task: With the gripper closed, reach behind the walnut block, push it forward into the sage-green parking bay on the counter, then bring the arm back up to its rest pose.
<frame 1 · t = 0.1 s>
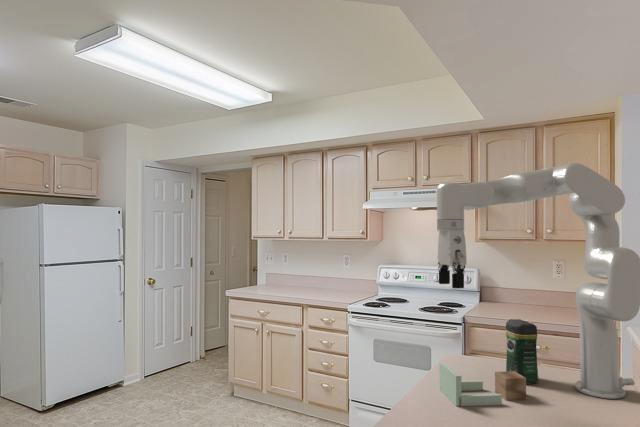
hand: (450, 285, 127), 31 cm above the countertop, fingers open, 9 cm apart
coffee jar: (521, 380, 140), on the countertop
walnut block: (510, 396, 126), on the countertop
parking bay: (469, 397, 125), on the countertop
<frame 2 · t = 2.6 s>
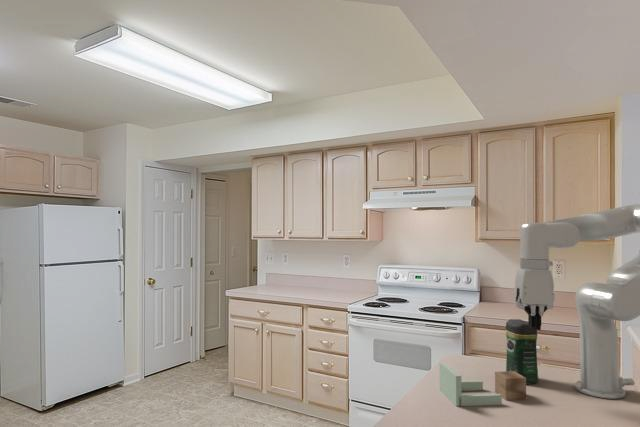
hand: (534, 329, 128), 19 cm above the countertop, fingers closed
nothing on the countertop moved.
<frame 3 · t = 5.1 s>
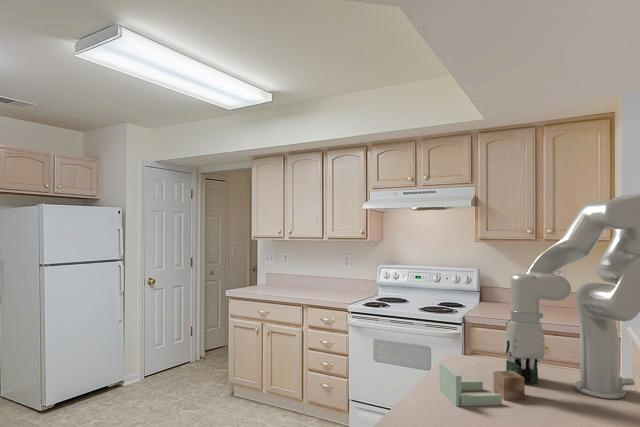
hand: (525, 381, 127), 4 cm above the countertop, fingers closed
walnut block: (508, 395, 126), on the countertop, touching gripper
everything else where it was.
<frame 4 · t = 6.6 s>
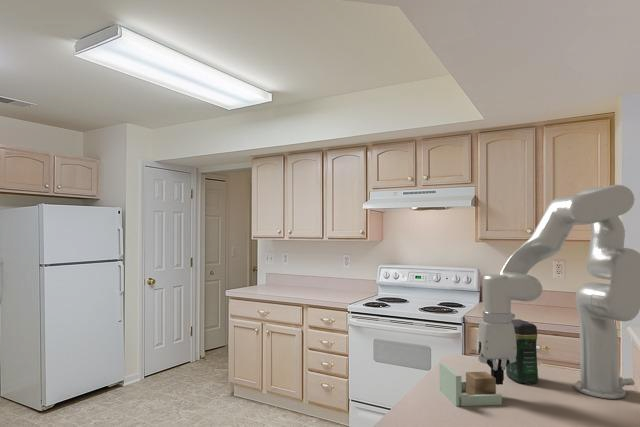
hand: (497, 382, 126), 4 cm above the countertop, fingers closed
walnut block: (480, 396, 126), on the countertop, touching gripper
everything else where it was.
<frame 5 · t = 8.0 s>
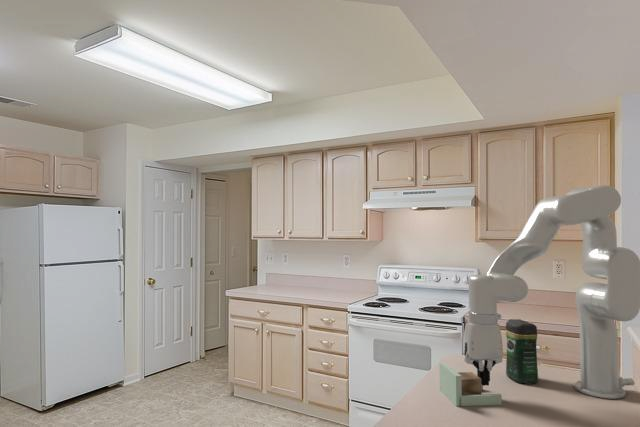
hand: (483, 383, 126), 4 cm above the countertop, fingers closed
walnut block: (466, 397, 125), on the countertop, touching gripper
everything else where it was.
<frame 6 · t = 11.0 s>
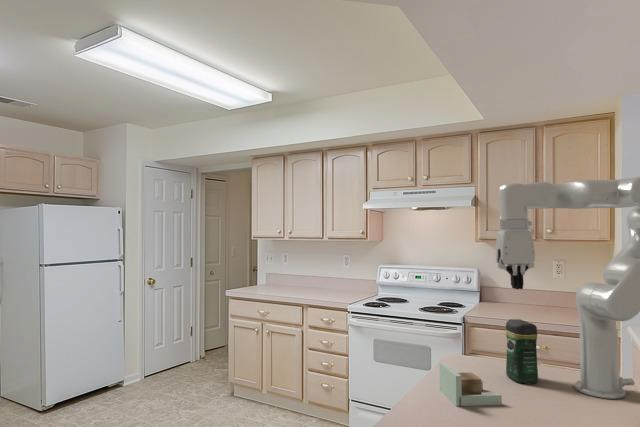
hand: (517, 288, 130), 30 cm above the countertop, fingers closed
walnut block: (466, 397, 125), on the countertop
everything else where it was.
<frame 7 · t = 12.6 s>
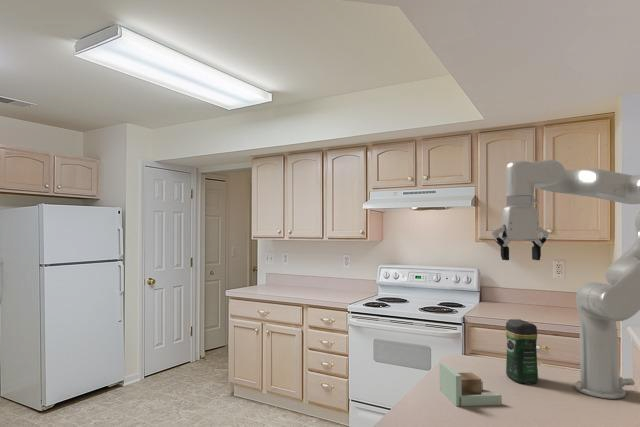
hand: (520, 260, 133), 38 cm above the countertop, fingers open, 9 cm apart
nothing on the countertop moved.
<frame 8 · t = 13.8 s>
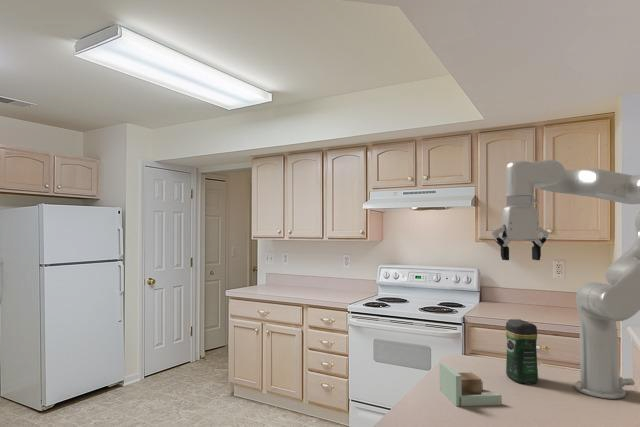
hand: (520, 260, 133), 38 cm above the countertop, fingers open, 9 cm apart
nothing on the countertop moved.
at the end: walnut block 1.3 cm off-centre on the parking bay, point 0.0 cm above the parking bay's base; walnut block tilted 0°; the gripper is holding nothing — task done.
